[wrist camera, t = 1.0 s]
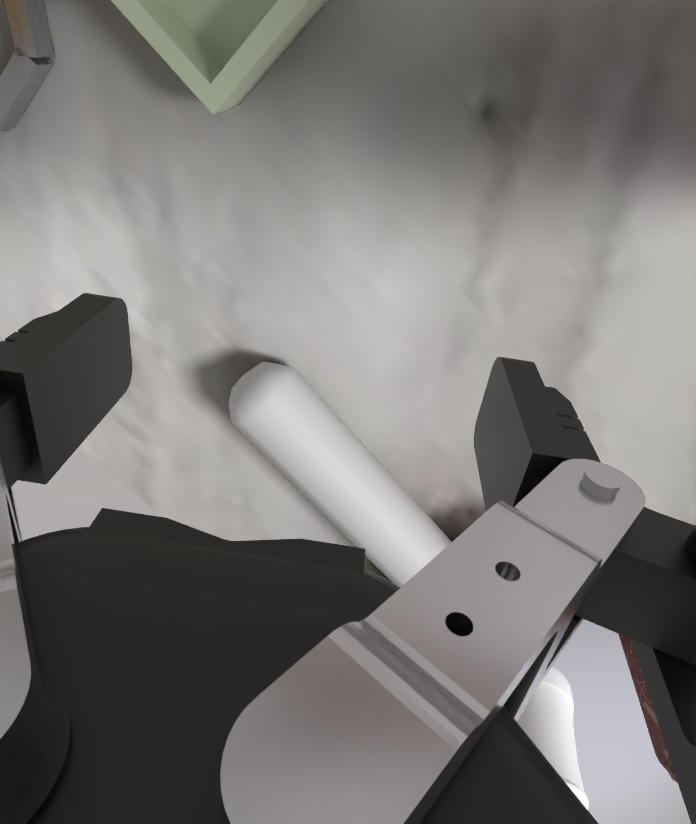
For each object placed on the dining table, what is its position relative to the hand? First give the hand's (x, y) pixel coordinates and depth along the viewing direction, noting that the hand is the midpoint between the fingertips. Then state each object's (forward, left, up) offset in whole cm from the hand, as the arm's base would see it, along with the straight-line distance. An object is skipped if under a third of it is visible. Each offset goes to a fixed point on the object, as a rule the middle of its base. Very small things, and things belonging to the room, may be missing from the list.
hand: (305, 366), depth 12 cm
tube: (+14, +16, -20) cm, 29 cm away
